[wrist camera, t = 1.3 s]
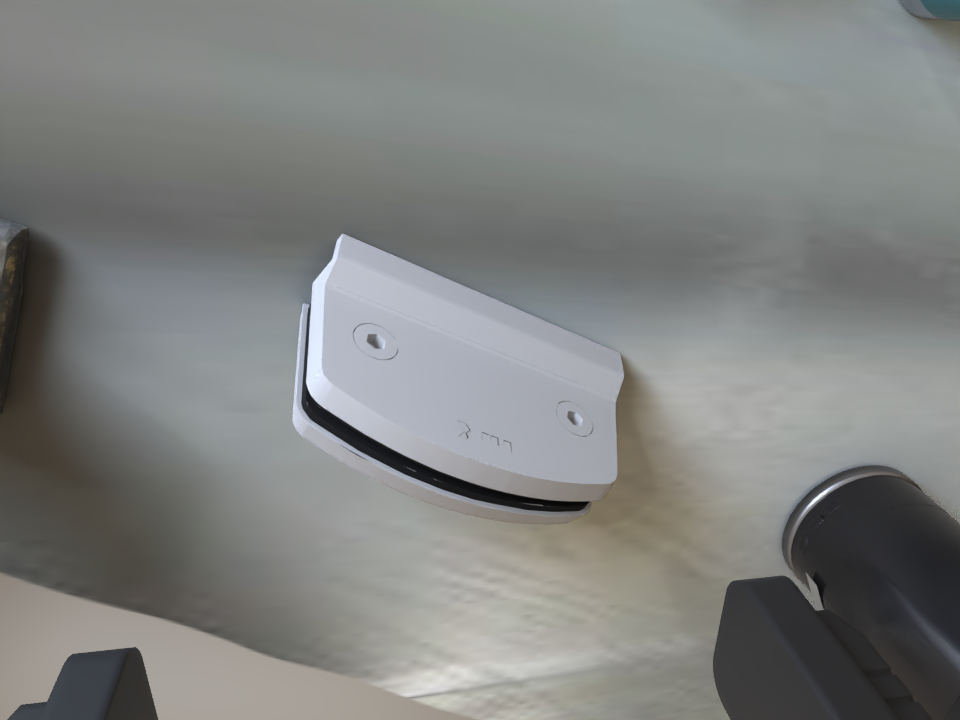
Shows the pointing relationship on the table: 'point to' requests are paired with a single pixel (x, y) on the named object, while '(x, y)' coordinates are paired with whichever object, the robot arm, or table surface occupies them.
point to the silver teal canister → (933, 9)
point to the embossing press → (10, 292)
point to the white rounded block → (453, 392)
